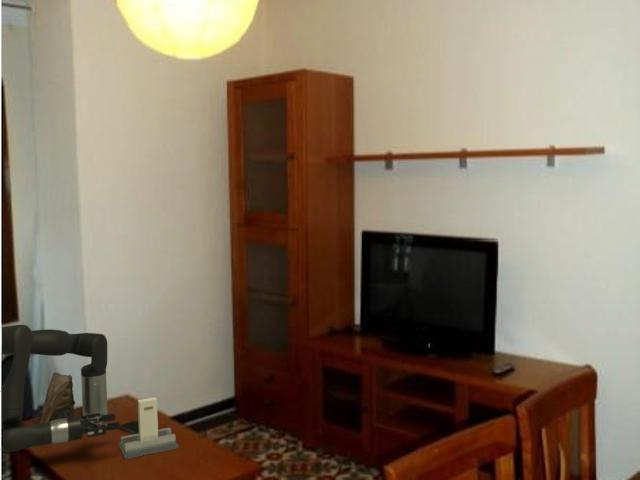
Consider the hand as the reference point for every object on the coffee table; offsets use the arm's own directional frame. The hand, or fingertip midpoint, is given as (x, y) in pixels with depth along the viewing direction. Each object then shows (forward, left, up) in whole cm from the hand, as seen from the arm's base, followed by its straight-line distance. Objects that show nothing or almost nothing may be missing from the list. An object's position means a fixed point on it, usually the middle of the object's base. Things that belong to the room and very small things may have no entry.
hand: (117, 420), depth 211 cm
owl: (-33, -17, -12) cm, 39 cm away
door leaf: (0, +10, -10) cm, 15 cm away
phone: (-17, +10, -12) cm, 23 cm away
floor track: (0, +10, -11) cm, 15 cm away
